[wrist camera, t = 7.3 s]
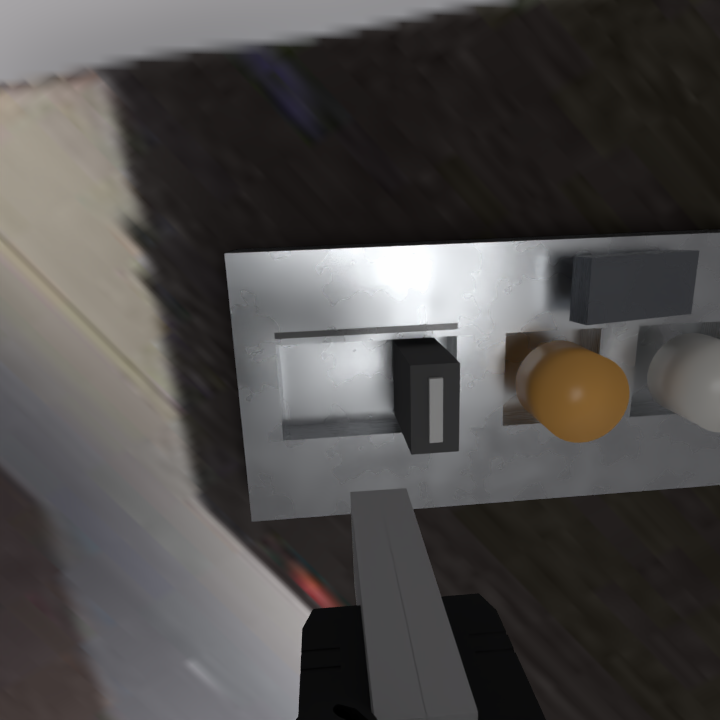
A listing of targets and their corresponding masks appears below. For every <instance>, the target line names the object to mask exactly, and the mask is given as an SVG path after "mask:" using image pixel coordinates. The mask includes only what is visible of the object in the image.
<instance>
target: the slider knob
mask: <svg viewBox="0 0 720 720" xmlns="http://www.w3.org/2000/svg"><path fill="white" fill-rule="evenodd" d="M393 371H394V414H395V417H396V419H397V422H398V424H399V426H400V429H401V431H402V434H403V436H404V438H405V441H406V443H407V446H408V448H409V450H410V453H411V455H415V454H429V453H443V452H457V451H459V413H460V362H459V361H458V360H457V359H456V358H455V357H454V356H453V355H452V354H451V353H450V352H449V351H448V350H447V349H445V348H444V347H443V346H442V345H441V344H440V343H439V342H438V341H437V340H436V339H435V338H434V337H430V338H412V339H394V340H393Z"/></svg>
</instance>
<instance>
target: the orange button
mask: <svg viewBox="0 0 720 720" xmlns="http://www.w3.org/2000/svg"><path fill="white" fill-rule="evenodd" d="M515 388H516V394H517V397H518V399H519V401H520V403H521V405H522V406H523V407H524V408H525V409H526V410H527V411H528V412H529V413H530V414H531V415H532V416H533V417H534V418H536V419H537V420H538V421H539V422H540V423H541V424H542V425H544V426H545V427H546V428H547V429H548V430H549V431H550V432H551V433H553V434H554V435H555V436H557V437H558V438H560V439H562V440H565V441H568V442H574V443H583V442H589V441H593V440H595V439H598V438H600V437H602V436H604V435H605V434H607V433H608V432H610V431H611V430H612V429H613V428H614V427H615V426H616V425H617V424H618V423H619V421H620V420H621V419H622V417H623V415H624V413H625V411H626V409H627V406H628V402H629V392H630V391H629V384H628V380H627V378H626V375H625V373H624V372H623V370H622V369H621V368H620V367H619V366H618V365H617V364H616V363H615V362H613V361H612V360H610V359H608V358H606V357H603V356H601V355H599V354H597V353H595V352H593V351H590V350H588V349H586V348H584V347H582V346H580V345H577V344H575V343H573V342H570V341H564V340H557V341H551V342H547V343H544V344H542V345H540V346H538V347H537V348H535V349H534V350H532V351H531V352H530V353H529V354H528V355H527V356H526V357H525V359H524V360H523V362H522V363H521V365H520V367H519V369H518V372H517V375H516V382H515Z"/></svg>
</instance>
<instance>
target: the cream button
mask: <svg viewBox="0 0 720 720" xmlns="http://www.w3.org/2000/svg"><path fill="white" fill-rule="evenodd" d="M647 384H648V389H649V391H650V394H651V396H652V397H653V399H654V400H655V401H656V402H657V403H658V404H659V405H661V406H662V407H664V408H666V409H668V410H670V411H672V412H674V413H676V414H677V415H679V416H681V417H683V418H685V419H687V420H689V421H691V422H693V423H695V424H696V425H698V426H700V427H702V428H704V429H706V430H708V431H712V432H718V433H720V339H718V338H714V337H711V336H708V335H704V334H700V333H686V334H682V335H679V336H677V337H675V338H673V339H671V340H669V341H668V342H666V343H665V344H664V345H663V346H662V347H661V348H660V349H659V350H658V351H657V353H656V354H655V355H654V357H653V359H652V361H651V363H650V366H649V369H648V374H647Z"/></svg>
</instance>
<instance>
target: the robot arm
mask: <svg viewBox="0 0 720 720" xmlns="http://www.w3.org/2000/svg"><path fill="white" fill-rule="evenodd" d="M350 499H351V520H352V541H353V562H354V582H355V592H356V603H357V605H356V606H344V607H332V608H320V609H313V610H312V612H311V614H310V616H309V618H308V619H307V621H306V623H305V625H304V627H303V629H302V649H301V652H302V655H301V674H300V692H299V714H298V718H297V719H296V720H546V719H545V717H544V715H543V712H542V710H541V708H540V706H539V704H538V701H537V699H536V697H535V695H534V693H533V690H532V688H531V686H530V684H529V681H528V679H527V677H526V675H525V673H524V670H523V668H522V666H521V664H520V662H519V659H518V657H517V655H516V653H514V650H513V646H512V644H511V642H510V639H509V637H508V635H506V631H505V628H504V626H503V624H502V622H501V619H500V617H499V615H498V613H497V611H496V609H494V608H493V607H492V606H491V605H490V604H489V603H488V602H487V601H486V600H485V599H484V598H483V597H482V596H481V595H480V594H468V595H456V596H444V597H441V595H440V592H439V589H438V586H437V583H436V579H435V576H434V573H433V570H432V567H431V564H430V561H429V558H428V554H427V551H426V548H425V545H424V542H423V539H422V536H421V533H420V529H419V526H418V523H417V520H416V517H415V514H414V511H413V508H412V504H411V501H410V498H409V495H408V492H407V489H406V488H401V489H387V490H372V491H358V492H350Z"/></svg>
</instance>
